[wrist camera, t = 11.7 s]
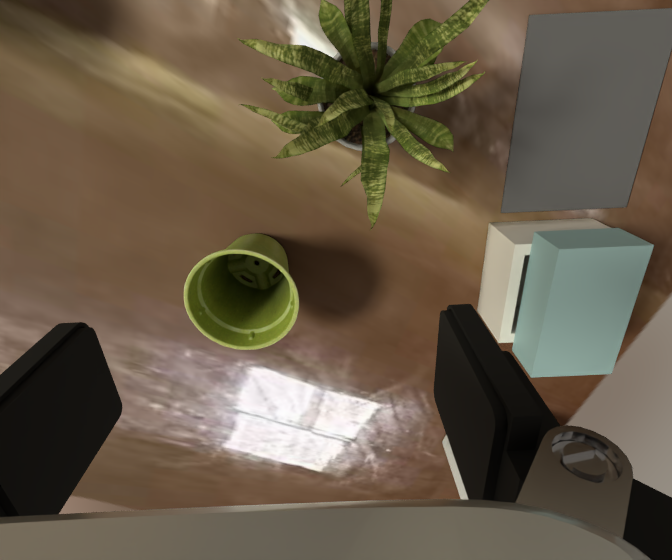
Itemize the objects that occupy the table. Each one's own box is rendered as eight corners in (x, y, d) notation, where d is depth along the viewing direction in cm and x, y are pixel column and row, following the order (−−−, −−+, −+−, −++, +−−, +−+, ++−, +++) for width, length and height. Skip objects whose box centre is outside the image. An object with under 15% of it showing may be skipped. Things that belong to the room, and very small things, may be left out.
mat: (529, 15, 31) (530, 15, 31) (681, 8, 31) (683, 7, 31) (500, 212, 38) (501, 212, 38) (625, 206, 38) (626, 207, 38)
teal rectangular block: (534, 231, 33) (559, 249, 29) (618, 227, 33) (654, 245, 29) (511, 350, 38) (531, 377, 35) (584, 346, 38) (611, 373, 35)
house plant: (358, -73, 29) (389, -240, 14) (484, 64, 33) (611, 46, 18) (248, 94, 33) (185, 100, 19) (370, 197, 37) (397, 268, 23)
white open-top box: (489, 222, 39) (514, 244, 33) (591, 218, 39) (633, 239, 33) (477, 310, 43) (498, 342, 38) (569, 306, 43) (603, 338, 38)
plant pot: (322, 246, 40) (320, 285, 32) (277, 316, 43) (266, 366, 35) (236, 198, 37) (212, 227, 30) (197, 275, 41) (165, 319, 33)
